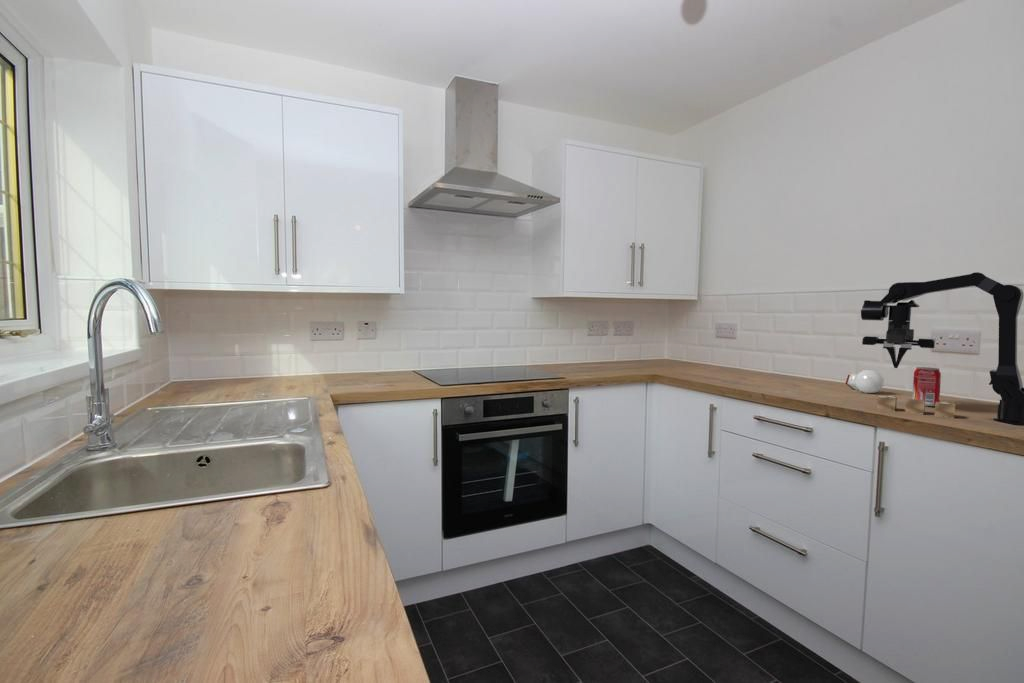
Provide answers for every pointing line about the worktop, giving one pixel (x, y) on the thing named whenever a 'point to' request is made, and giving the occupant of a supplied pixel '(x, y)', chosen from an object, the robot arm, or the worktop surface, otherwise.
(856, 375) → the potion bottle
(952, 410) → the pip block near
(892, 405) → the pip block far
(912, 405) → the plain block
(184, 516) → the worktop surface
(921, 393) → the soda can
